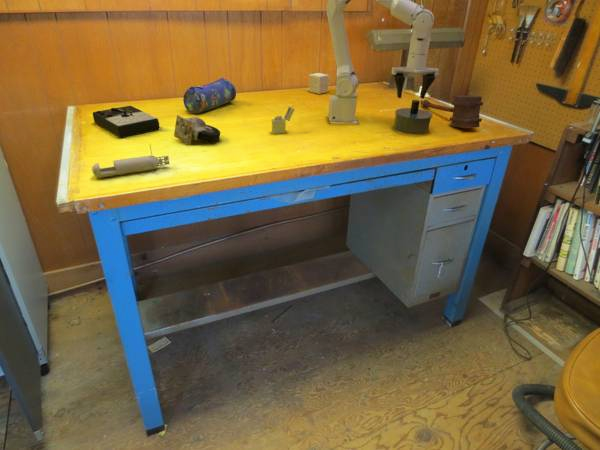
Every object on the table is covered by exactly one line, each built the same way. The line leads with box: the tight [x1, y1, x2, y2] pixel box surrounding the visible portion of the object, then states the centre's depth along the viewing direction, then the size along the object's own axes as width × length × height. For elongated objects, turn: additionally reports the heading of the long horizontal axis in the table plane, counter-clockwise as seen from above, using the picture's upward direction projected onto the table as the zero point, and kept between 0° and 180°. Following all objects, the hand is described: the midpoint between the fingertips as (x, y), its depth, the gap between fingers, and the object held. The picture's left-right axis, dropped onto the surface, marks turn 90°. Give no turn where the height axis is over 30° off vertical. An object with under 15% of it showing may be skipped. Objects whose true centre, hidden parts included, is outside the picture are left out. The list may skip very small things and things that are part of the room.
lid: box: [394, 99, 433, 120], centre depth 137 cm, size 12×12×5 cm
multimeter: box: [92, 105, 160, 139], centre depth 133 cm, size 13×19×5 cm
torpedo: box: [91, 144, 170, 179], centre depth 103 cm, size 18×5×6 cm, turn 118°
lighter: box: [271, 106, 295, 135], centre depth 133 cm, size 7×2×8 cm, turn 112°
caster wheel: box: [173, 114, 221, 146], centre depth 125 cm, size 7×11×10 cm
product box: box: [308, 72, 330, 95], centre depth 180 cm, size 6×6×7 cm
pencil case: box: [182, 77, 237, 115], centre depth 153 cm, size 22×9×10 cm, turn 150°
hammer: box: [419, 95, 484, 129], centre depth 153 cm, size 7×33×10 cm, turn 16°
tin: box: [393, 114, 432, 135], centre depth 139 cm, size 11×11×5 cm
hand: (410, 97), depth 137 cm, fingers open, 7 cm apart
